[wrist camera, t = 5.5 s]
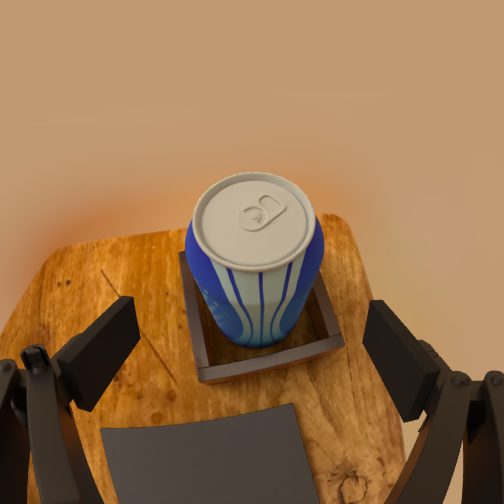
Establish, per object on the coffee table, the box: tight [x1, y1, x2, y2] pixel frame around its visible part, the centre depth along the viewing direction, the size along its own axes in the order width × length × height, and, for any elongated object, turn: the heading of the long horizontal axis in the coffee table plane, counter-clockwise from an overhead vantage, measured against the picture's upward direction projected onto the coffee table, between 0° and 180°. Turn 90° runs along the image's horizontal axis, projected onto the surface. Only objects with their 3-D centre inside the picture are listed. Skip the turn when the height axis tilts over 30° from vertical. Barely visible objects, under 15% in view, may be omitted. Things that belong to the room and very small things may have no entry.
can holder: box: [178, 251, 345, 385], centre depth 27 cm, size 13×13×4 cm
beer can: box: [185, 172, 324, 349], centre depth 22 cm, size 8×8×16 cm
